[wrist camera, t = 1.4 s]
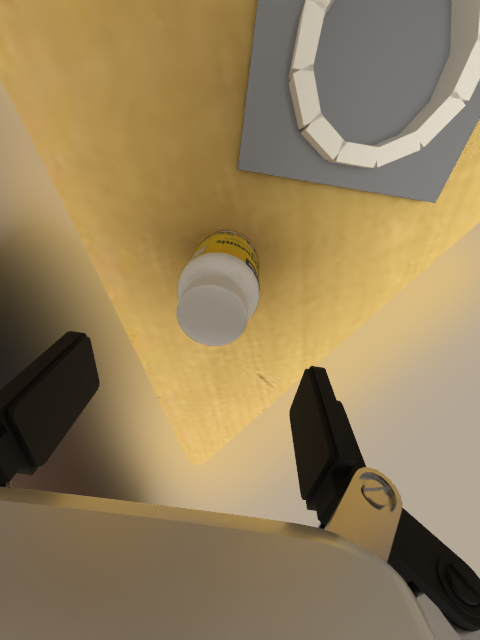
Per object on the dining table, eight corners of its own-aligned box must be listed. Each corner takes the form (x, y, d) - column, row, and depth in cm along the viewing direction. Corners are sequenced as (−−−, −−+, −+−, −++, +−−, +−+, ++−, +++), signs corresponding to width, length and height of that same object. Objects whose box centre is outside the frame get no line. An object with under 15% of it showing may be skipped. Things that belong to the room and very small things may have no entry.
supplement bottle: (271, 259, 22) (281, 319, 13) (230, 298, 24) (217, 370, 16) (225, 214, 20) (203, 251, 12) (185, 261, 22) (144, 319, 14)
